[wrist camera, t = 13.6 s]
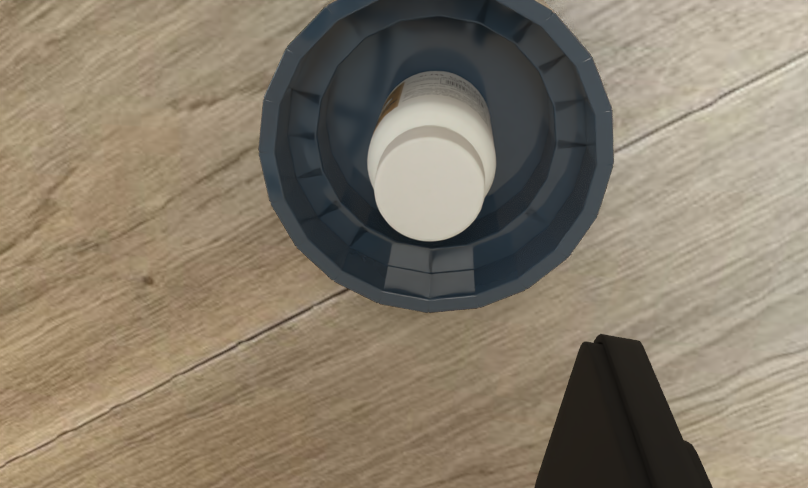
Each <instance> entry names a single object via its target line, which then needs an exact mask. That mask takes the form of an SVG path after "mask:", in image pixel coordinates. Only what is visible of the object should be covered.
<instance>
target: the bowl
mask: <svg viewBox="0 0 808 488" xmlns="http://www.w3.org/2000/svg"><path fill="white" fill-rule="evenodd" d="M427 71H444V72H449V73H453V74H456V75H458V76H460V77H462V78H463V79H465V80H467V81H468V82H470V83H471V84H472V85H473V86H474V87H475V88H476V89H477V90H478V91H479V93H480V94H481V95H482V97H483V99H484V100H485V102H486V104H487V107H488V110H489V114H490V120H491V128H492V134H493V141H494V147H495V154H496V170H495V176H494V180H493V183H492V185H491V188H490V190H489V191H488V193H487V195H486V196H485V198H484V202H483V205H482V208H481V211H480V212H479V214H478V216H477V217H476V219H475V220H474V221H473V222H472V224H471V225H470V226H468V227H467V228H466V229H465V230H464V231H462V232H461V233H459V234H457V235H455V236H453V237H451V238H448V239H445V240H440V241H420V240H416V239H412V238H409V237H407V236H405V235H403V234H401V233H399V232H398V231H396V230H395V229H394V228H392V227H391V226H390V225H389V224H388V223H387V221H386V220H385V219H384V217H383V216H382V215H381V213H380V211H379V209H378V206H377V204H376V200H375V194H374V189H373V186H372V184H371V181H370V178H369V173H368V166H367V159H368V150H369V146H370V142H371V139H372V136H373V132H374V130H375V127H376V125H377V122H378V119H379V116H380V113H381V111H382V108H383V105H384V103H385V101H386V99H387V97H388V96H389V95H390V93H391V92H392V91H393V89H394V88H395V87H396V86H397V85H399V84H400V83H401V82H402V81H404V80H405V79H407V78H409V77H411V76H413V75H416V74H419V73H422V72H427ZM258 150H259V157H260V162H261V166H262V171H263V175H264V179H265V184H266V188H267V193H268V197H269V201H270V202H271V205H272V207H273V209H274V211H275V212H276V214H277V216H278V217H279V219H280V221H281V222H282V224H283V226H284V227H285V229H286V231H287V233H288V234H289V236H290V238H291V239H292V241H293V243H294V244H295V246H297V248H298V249H299V250H300V251H301V252H302V253H303V254H304V255H305V256H306V257H307V258H309V259H310V260H311V261H312V262H313V263H314V264H315V265H316V266H317V267H318V268H319V269H321V270H322V271H323V272H324V273H325V274H326V275H327V276H328V277H329V278H330V279H331V280H334V282H336V283H338V284H340V285H342V286H344V287H346V288H348V289H350V290H352V291H354V292H356V293H358V294H360V295H362V296H364V297H366V298H368V299H370V300H372V301H374V302H376V303H379V304H382V305H388V306H393V307H398V308H404V309H409V310H415V311H420V312H425V313H428V312H429V313H433V312H444V311H455V310H466V309H476V308H478V307H479V308H481V307H484V306H486V305H489V304H491V303H494V302H496V301H499V300H502V299H504V298H507V297H509V296H512V295H515V294H517V293H520V292H522V291H525V290H526V289H528V288H530V287H531V286H532V285H534V284H535V283H536V282H537V281H539V280H540V279H541V278H543V277H544V276H545V275H547V274H548V273H549V272H550V271H552V270H553V269H554V268H556V267H557V266H558V265H560V264H561V263H562V262H563V261H565V260H566V259H567V258H568V257H569V256H570V255H571V253H572V252H573V250H574V249H575V247H576V246H577V245H578V243H579V242H580V240H581V239H582V238H583V236H584V235H585V233H586V232H587V231H588V229H589V228H590V226H591V225H592V223H593V222H594V221H595V219H596V218H597V215H598V214H599V210H600V207H601V204H602V201H603V198H604V194H605V191H606V188H607V185H608V181H609V178H610V175H611V172H612V169H613V164H614V149H613V113H612V107H611V104H610V102H609V99H608V96H607V94H606V91H605V89H604V86H603V83H602V81H601V78H600V75H599V73H598V70H597V68H596V65H595V62H594V60H593V57H592V56H591V54H590V53H589V52H588V51H587V50H586V48H585V47H584V46H583V45H582V44H581V42H580V41H579V40H578V39H577V38H576V37H575V35H574V34H573V33H572V32H571V31H570V30H569V28H568V27H567V26H566V25H565V24H564V23H563V21H562V20H561V19H560V18H559V17H558V15H557V14H556V13H555V12H554V11H553V10H552V9H551V8H550V7H549V6H548V4H547V3H546V2H545V1H544V0H333V1H331V2H330V3H329V4H328V5H326V6H325V7H324V8H323V9H322V10H321V11H320V12H319V13H318V14H317V16H316V17H315V18H314V19H313V20H312V21H311V22H310V23H309V24H308V25H307V26H306V27H305V28H304V29H303V30H302V31H301V32H300V33H299V34H298V36H297V37H296V38H295V39H294V40H293V41H292V42H291V43H290V44H289V45H288V46H287V48H286V49H285V51H284V53H283V56H282V58H281V60H280V62H279V64H278V67H277V69H276V71H275V73H274V75H273V78H272V80H271V82H270V84H269V86H268V89H267V91H266V93H265V95H264V99H263V106H262V117H261V127H260V138H259V148H258Z"/></svg>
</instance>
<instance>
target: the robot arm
mask: <svg viewBox="0 0 808 488" xmlns="http://www.w3.org/2000/svg"><path fill="white" fill-rule="evenodd" d="M535 488H712V485H711V483H710V481H709V479H708V476H707V474H706V472H705V470H704V467H703V465H702V463H701V461H700V458H699V456H698V454H697V452H696V450H695V449H694V447H693V446H692V444H690V443H689V442H687V441H684V440H683V438H682V436H681V433H680V431H679V429H678V426H677V424H676V422H675V419H674V417H673V415H672V412H671V410H670V408H669V405H668V403H667V401H666V398H665V396H664V394H663V391H662V389H661V387H660V384H659V382H658V380H657V377H656V375H655V373H654V370H653V368H652V366H651V363H650V361H649V359H648V356H647V354H646V352H645V349H644V347H643V345H642V344H641V342H640V341H637V340H632V339H626V338H620V337H615V336H609V335H603V334H600V335H598V336H597V337H596V339H595V340H594V343H591V342H583V343H582V345H581V346H580V349H579V351H578V355H577V358H576V361H575V364H574V367H573V370H572V373H571V376H570V379H569V382H568V385H567V388H566V391H565V394H564V397H563V400H562V403H561V407H560V410H559V413H558V416H557V419H556V422H555V425H554V428H553V431H552V434H551V437H550V440H549V443H548V446H547V449H546V452H545V455H544V459H543V462H542V465H541V468H540V471H539V474H538V477H537V480H536V484H535Z"/></svg>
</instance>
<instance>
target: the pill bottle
mask: <svg viewBox="0 0 808 488" xmlns="http://www.w3.org/2000/svg"><path fill="white" fill-rule="evenodd" d="M367 166H368V173H369V178H370V181H371V184H372V186H373V189H374V194H375V200H376V204H377V206H378V209H379V211H380V213H381V215H382V216H383V217H384V219H385V220H386V221H387V223H388V224H389V225H390V226H391V227H392V228H394V229H395V230H396V231H398V232H399V233H401V234H403V235H405V236H407V237H409V238H412V239H416V240H420V241H440V240H445V239H448V238H451V237H453V236H455V235H457V234H459V233H461V232H462V231H464V230H465V229H466V228H467V227H468V226H470V225H471V224H472V222H473V221H474V220H475V219H476V217H477V216H478V214H479V212H480V211H481V208H482V205H483V202H484V198H485V196H486V195H487V193H488V191H489V190H490V188H491V185H492V183H493V180H494V176H495V170H496V154H495V147H494V141H493V134H492V128H491V120H490V114H489V110H488V107H487V104H486V102H485V100H484V99H483V97H482V95H481V94H480V93H479V91H478V90H477V89H476V88H475V87H474V86H473V85H472V84H471V83H470V82H468V81H467V80H465V79H463V78H462V77H460V76H458V75H456V74H453V73H449V72H444V71H427V72H422V73H419V74H416V75H413V76H411V77H409V78H407V79H405V80H404V81H402V82H401V83H400V84H399V85H397V86H396V87H395V88H394V89H393V91H392V92H391V93H390V95H389V96H388V97H387V99H386V101H385V103H384V105H383V108H382V111H381V113H380V116H379V119H378V122H377V125H376V127H375V130H374V132H373V136H372V139H371V142H370V146H369V150H368V159H367Z"/></svg>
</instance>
